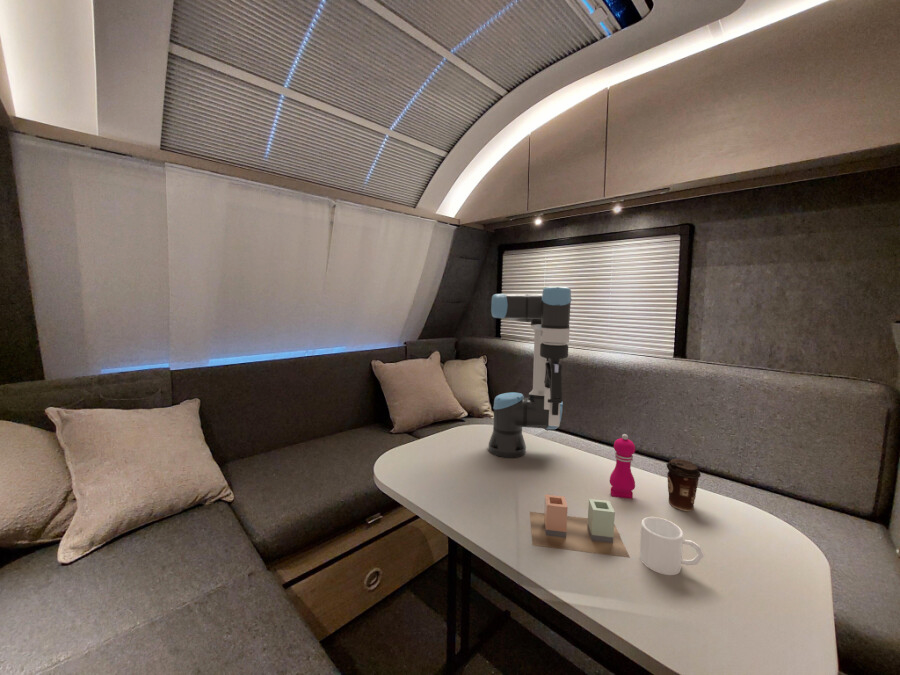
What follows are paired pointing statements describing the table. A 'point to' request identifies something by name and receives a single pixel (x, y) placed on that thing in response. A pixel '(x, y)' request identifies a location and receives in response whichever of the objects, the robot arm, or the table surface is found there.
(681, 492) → the coffee cup
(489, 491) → the table surface
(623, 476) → the pepper mill
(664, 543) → the mug
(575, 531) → the pin board
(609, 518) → the sage sleeve
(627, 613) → the table surface
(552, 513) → the terracotta sleeve
